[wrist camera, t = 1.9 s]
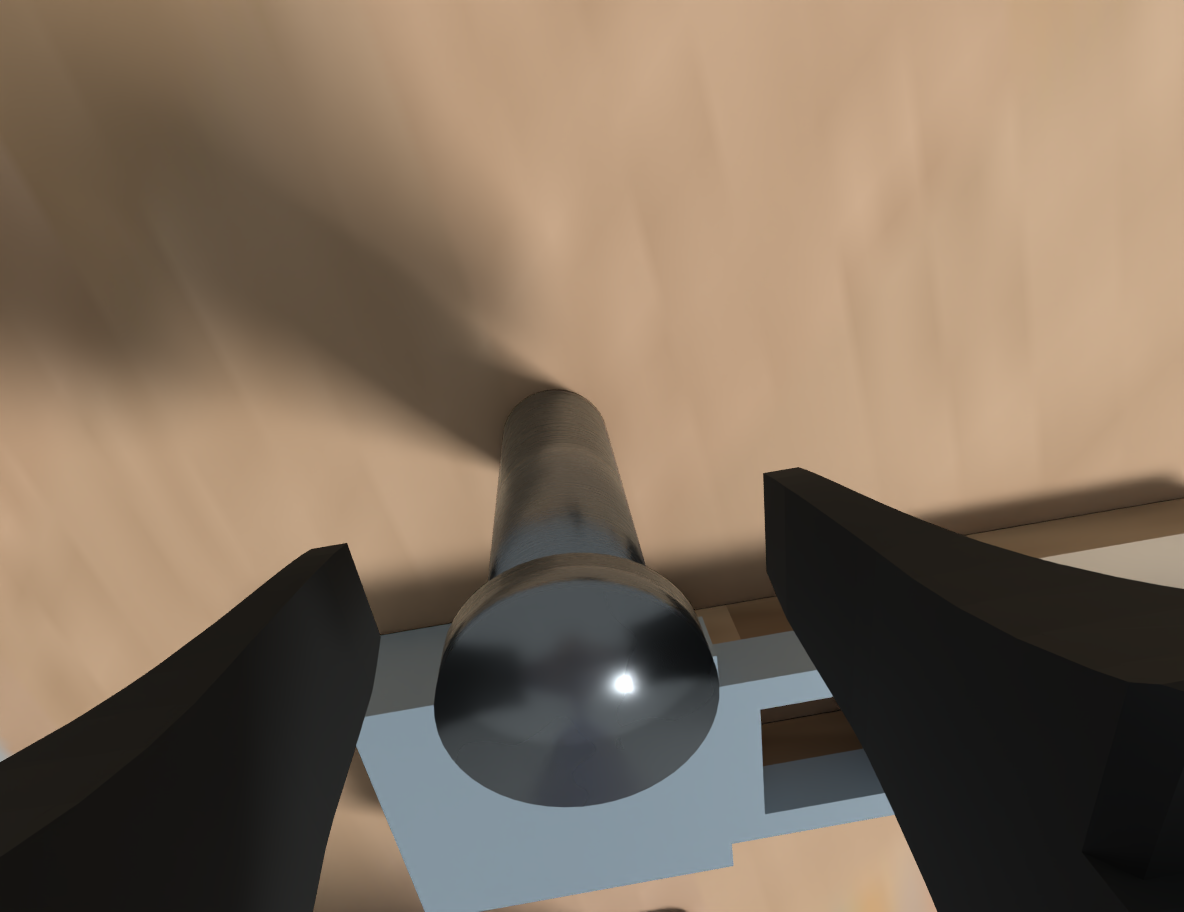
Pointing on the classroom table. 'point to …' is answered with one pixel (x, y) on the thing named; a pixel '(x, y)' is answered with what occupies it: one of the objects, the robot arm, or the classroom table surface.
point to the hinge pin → (571, 631)
